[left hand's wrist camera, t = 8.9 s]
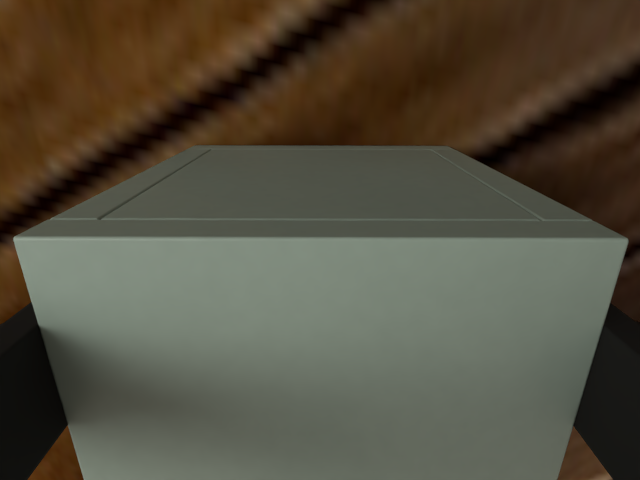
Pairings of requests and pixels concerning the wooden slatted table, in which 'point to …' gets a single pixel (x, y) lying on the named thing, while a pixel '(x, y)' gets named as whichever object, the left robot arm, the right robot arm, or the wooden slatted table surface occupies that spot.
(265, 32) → the wooden slatted table surface
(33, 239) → the cabinet
